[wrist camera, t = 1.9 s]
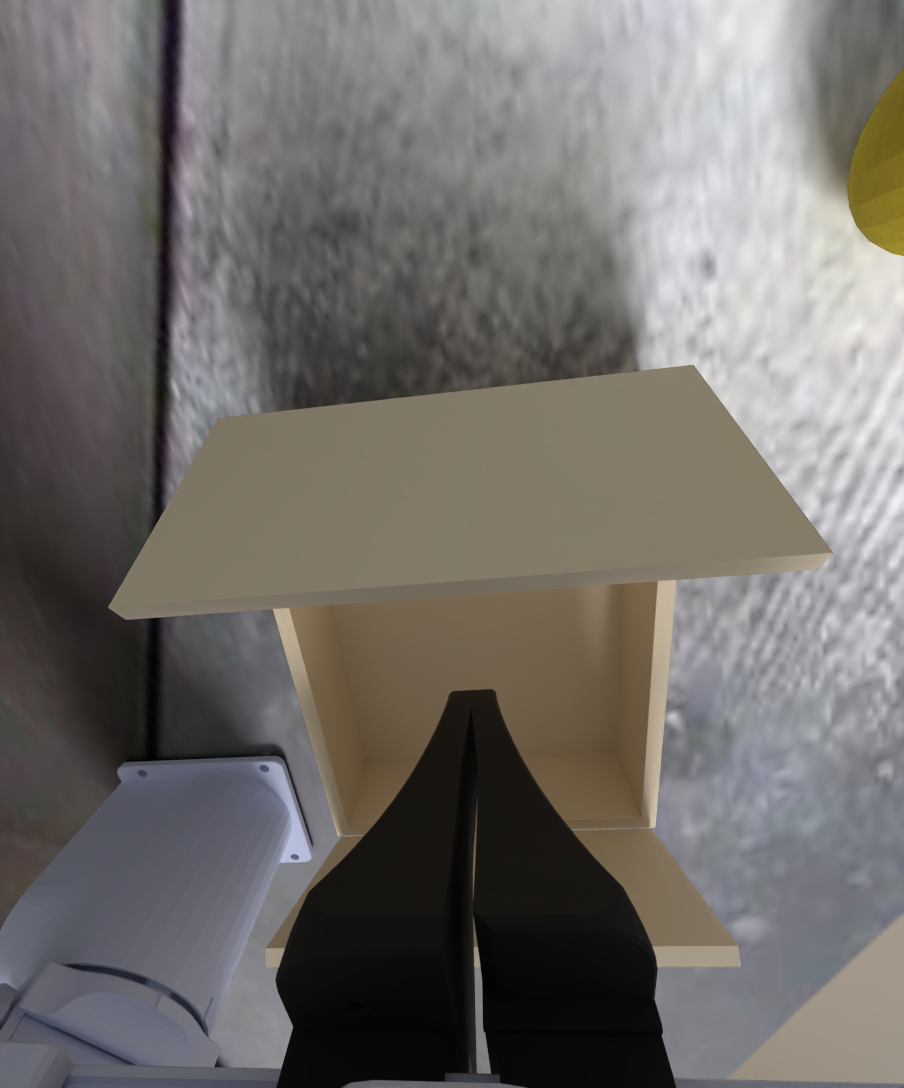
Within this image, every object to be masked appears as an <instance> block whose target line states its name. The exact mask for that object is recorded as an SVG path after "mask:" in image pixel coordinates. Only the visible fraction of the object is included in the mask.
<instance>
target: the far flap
mask: <svg viewBox="0 0 904 1088" xmlns="http://www.w3.org/2000/svg"><path fill="white" fill-rule="evenodd" d="M573 833H574V834H575V835H576V836H577V838H578V839H579V840H580V841H581V842H582V843H583V845H584V846H585V847H586V848H587V849H588V850H589V851H590V853H591V854H592V855H593V856H594V857H595V858H596V859H597V860H598V861H599V862H600V863H601V865H602V866H603V867H604V868H605V869H606V870H607V871H608V872H609V873H610V874H611V875H612V876H613V877H614V878H615V879H616V880H617V881H618V882H619V883H620V884H621V885H622V886H623V888H624V889H625V891H626V893H627V895H628V897H629V898H630V900H631V902H632V904H633V906H634V907H635V909H636V911H637V913H638V915H639V917H640V919H641V921H642V923H643V926H644V928H645V930H646V932H647V935H648V937H649V939H650V942H651V944H652V947H653V950H654V952H655V956H656V960H657V967H741V963H740V957H739V950H738V946H737V944H736V943H735V942H734V940H733V939H732V937H731V936H730V935H729V933H728V932H727V931H726V929H725V928H724V927H723V925H722V924H721V923H720V921H719V920H718V918H717V917H716V916H715V914H714V913H713V912H712V910H711V909H710V908H709V906H708V905H707V904H706V902H705V901H704V899H703V898H702V897H701V895H700V894H699V893H698V891H697V890H696V889H695V887H694V886H693V885H692V883H691V882H690V881H689V879H688V878H687V876H686V875H685V874H684V872H683V871H682V870H681V868H680V867H679V866H678V864H677V863H676V862H675V860H674V859H673V857H672V856H671V855H670V853H669V852H668V851H667V849H666V848H665V847H664V845H663V844H662V843H661V841H660V840H659V838H658V837H657V836H656V834H655V833H654V832H653V830H652V829H620V830H582V831H573ZM362 838H363V836H357V837H341V838H340V840H339V841H338V843H337V844H336V846H335V847H334V848H333V850H332V851H331V853H330V854H329V856H328V857H327V859H326V860H325V862H324V863H323V865H322V866H321V868H320V869H319V871H318V872H317V874H316V875H315V877H314V878H313V880H312V881H311V882H310V884H309V885H308V887H307V888H306V890H305V891H304V893H303V894H302V896H301V897H300V899H299V900H298V902H297V903H296V905H295V906H294V908H293V909H292V911H291V912H290V914H289V915H288V916H287V918H286V919H285V921H284V922H283V924H282V925H281V927H280V928H279V930H278V931H277V933H276V934H275V936H274V937H273V939H272V940H271V942H270V943H269V945H268V946H267V947H266V967H279V965H280V962H281V959H282V956H283V953H284V950H285V947H286V944H287V941H288V938H289V935H290V932H291V930H292V927H293V925H294V922H295V920H296V918H297V916H298V913H299V911H300V909H301V907H302V905H303V902H304V900H305V898H306V896H307V894H308V892H309V891H310V890H311V889H312V888H313V887H314V886H315V885H316V884H317V883H318V882H319V881H320V880H321V879H323V878H324V877H325V876H326V875H327V874H328V873H329V872H330V871H331V870H332V869H333V868H334V867H335V866H336V865H337V864H338V863H339V862H340V861H341V860H342V859H343V858H344V857H345V856H346V855H347V854H348V853H349V852H350V851H351V850H352V849H353V848H354V846H355V845H356V844H357V843H358V842H359V841H360V840H361V839H362ZM475 858H476V833H475V839H474V854H473V896H474V878H475ZM473 924H474V967H481V966H480V959H479V952H478V945H477V937H476V930H475V923H474V916H473Z"/></svg>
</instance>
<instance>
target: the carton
mask: <svg viewBox="0 0 904 1088" xmlns="http://www.w3.org/2000/svg"><path fill="white" fill-rule="evenodd" d="M675 592H676V580H668V581H654V582H640V583H626V584H612V585H599V586H585V587H571V588H557V589H544V590H530V591H516V592H502V593H489V594H475V595H461V596H447V597H433V598H420V599H406V600H392V601H378V602H365V603H351V604H337V605H323V606H310V607H296V608H282V609H273V611H274V615H275V618H276V622H277V625H278V629H279V632H280V636H281V639H282V643H283V646H284V650H285V653H286V657H287V660H288V664H289V667H290V671H291V674H292V678H293V681H294V685H295V688H296V692H297V695H298V698H299V702H300V705H301V709H302V712H303V716H304V719H305V723H306V726H307V730H308V733H309V737H310V740H311V744H312V747H313V751H314V754H315V758H316V761H317V765H318V768H319V772H320V775H321V779H322V782H323V786H324V789H325V793H326V796H327V800H328V803H329V807H330V810H331V814H332V817H333V821H334V824H335V828H336V831H337V835H338V836H352V835H365V834H366V833H367V832H368V831H369V830H370V829H371V828H372V826H373V825H374V824H375V823H376V821H377V820H378V819H379V818H380V817H381V815H382V814H383V813H384V811H385V810H386V809H387V807H388V806H389V805H390V803H391V802H392V801H393V800H394V798H395V797H396V795H397V794H398V793H399V791H400V790H401V788H402V787H403V785H404V784H405V782H406V781H407V779H408V778H409V776H410V775H411V773H412V771H413V770H414V768H415V766H416V765H417V763H418V761H419V759H420V758H421V756H422V754H423V752H424V751H425V749H426V747H427V745H428V743H429V741H430V739H431V737H432V735H433V733H434V731H435V729H436V727H437V725H438V723H439V720H440V718H441V716H442V714H443V711H444V709H445V706H446V703H447V700H448V697H449V694H450V693H451V692H452V691H462V690H482V689H493V690H494V691H495V692H496V696H497V701H498V705H499V708H500V711H501V714H502V716H503V719H504V722H505V724H506V726H507V729H508V731H509V733H510V735H511V737H512V739H513V741H514V744H515V746H516V748H517V749H518V751H519V753H520V755H521V757H522V759H523V760H524V762H525V764H526V766H527V768H528V769H529V771H530V773H531V774H532V776H533V778H534V779H535V781H536V782H537V784H538V785H539V787H540V788H541V790H542V791H543V793H544V794H545V796H546V797H547V799H548V800H549V801H550V803H551V804H552V806H553V807H554V809H555V810H556V811H557V812H558V814H559V815H560V816H561V818H562V819H563V820H564V821H565V823H566V824H567V825H568V826H569V828H570V829H571V830H576V829H613V828H650V827H655V824H656V812H657V801H658V789H659V778H660V766H661V754H662V743H663V731H664V720H665V708H666V696H667V685H668V673H669V661H670V650H671V638H672V627H673V615H674V603H675ZM476 831H477V811H476V825H475V832H476Z"/></svg>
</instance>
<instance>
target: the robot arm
mask: <svg viewBox="0 0 904 1088" xmlns="http://www.w3.org/2000/svg"><path fill="white" fill-rule="evenodd" d="M117 773H118V776H119V778H120V780H121V782H122V783H121V784H120V785H119V786H118V787H117V788H116V789H115V790H114V792H113V793H112V794H111V795H110V796H109V797H108V798H107V799H106V801H105V802H104V803H103V804H102V805H101V806H100V807H99V809H98V810H97V811H96V812H95V813H94V814H93V815H92V816H91V818H90V819H89V820H88V821H87V822H86V823H85V824H84V826H83V827H82V828H81V829H80V830H79V831H78V832H77V833H76V835H75V836H74V837H73V838H72V839H71V840H70V841H69V842H68V844H67V845H66V846H65V847H64V848H63V849H62V850H61V852H60V853H59V854H58V855H57V856H56V857H55V858H54V859H53V861H52V862H51V863H50V864H49V865H48V866H47V867H46V869H45V870H44V871H43V872H42V873H41V874H40V875H39V876H38V878H37V879H36V880H35V881H34V882H33V883H32V884H31V885H30V887H29V888H28V889H27V890H26V892H25V893H24V894H23V895H22V897H21V898H20V899H19V900H18V902H17V903H16V905H15V906H14V908H13V909H12V911H11V912H10V914H9V916H8V917H7V919H6V921H5V923H4V924H3V926H2V928H1V930H0V1088H904V1084H894V1083H891V1084H890V1083H851V1082H849V1083H848V1082H810V1081H769V1080H727V1079H685V1078H674V1077H673V1074H672V1070H671V1067H670V1063H669V1060H668V1056H667V1053H666V1049H665V1046H664V1042H663V1039H662V1036H661V1035H662V1033H663V1029H662V1024H661V1020H660V1017H659V1013H658V1010H657V1006H656V1003H655V1000H654V997H655V988H656V979H657V970H658V968H657V960H656V956H655V952H654V950H653V947H652V944H651V942H650V939H649V937H648V935H647V932H646V930H645V928H644V926H643V923H642V921H641V919H640V917H639V915H638V913H637V911H636V909H635V907H634V906H633V904H632V902H631V900H630V898H629V897H628V895H627V893H626V891H625V889H624V888H623V886H622V885H621V884H620V883H619V882H618V881H617V880H616V879H615V878H614V877H613V876H612V875H611V874H610V873H609V872H608V871H607V870H606V869H605V868H604V867H603V866H602V865H601V863H600V862H599V861H598V860H597V859H596V858H595V857H594V856H593V855H592V854H591V853H590V851H589V850H588V849H587V848H586V847H585V846H584V845H583V843H582V842H581V841H580V840H579V839H578V838H577V836H576V835H575V834H574V833H573V831H572V830H571V829H570V828H569V826H568V825H567V824H566V823H565V821H564V820H563V819H562V818H561V816H560V815H559V814H558V812H557V811H556V810H555V809H554V807H553V806H552V804H551V803H550V801H549V800H548V799H547V797H546V796H545V794H544V793H543V791H542V790H541V788H540V787H539V785H538V784H537V782H536V781H535V779H534V778H533V776H532V774H531V773H530V771H529V769H528V768H527V766H526V764H525V762H524V760H523V759H522V757H521V755H520V753H519V751H518V749H517V748H516V746H515V744H514V741H513V739H512V737H511V735H510V733H509V731H508V729H507V726H506V724H505V722H504V719H503V716H502V714H501V711H500V708H499V705H498V701H497V696H496V692H495V691H494V690H493V689H482V690H462V691H452V692H451V693H450V694H449V697H448V700H447V703H446V706H445V709H444V711H443V714H442V716H441V718H440V720H439V723H438V725H437V727H436V729H435V731H434V733H433V735H432V737H431V739H430V741H429V743H428V745H427V747H426V749H425V751H424V752H423V754H422V756H421V758H420V759H419V761H418V763H417V765H416V766H415V768H414V770H413V771H412V773H411V775H410V776H409V778H408V779H407V781H406V782H405V784H404V785H403V787H402V788H401V790H400V791H399V793H398V794H397V795H396V797H395V798H394V800H393V801H392V802H391V803H390V805H389V806H388V807H387V809H386V810H385V811H384V813H383V814H382V815H381V817H380V818H379V819H378V820H377V821H376V823H375V824H374V825H373V826H372V828H371V829H370V830H369V831H368V832H367V833H366V834H365V835H364V836H363V838H362V839H361V840H360V841H359V842H358V843H357V844H356V845H355V846H354V848H353V849H352V850H351V851H350V852H349V853H348V854H347V855H346V856H345V857H344V858H343V859H342V860H341V861H340V862H339V863H338V864H337V865H336V866H335V867H334V868H333V869H332V870H331V871H330V872H329V873H328V874H327V875H326V876H325V877H324V878H323V879H321V880H320V881H319V882H318V883H317V884H316V885H315V886H314V887H313V888H312V889H311V890H310V891H309V892H308V894H307V896H306V898H305V900H304V902H303V905H302V907H301V909H300V911H299V913H298V916H297V918H296V920H295V922H294V925H293V927H292V930H291V932H290V935H289V938H288V941H287V944H286V947H285V950H284V953H283V956H282V959H281V962H280V965H279V968H278V972H277V976H276V980H275V981H276V985H277V990H278V993H279V995H280V998H281V1000H282V1002H283V1004H284V1007H285V1009H286V1011H287V1013H288V1016H289V1018H290V1020H291V1022H292V1025H293V1030H292V1034H291V1037H290V1041H289V1044H288V1048H287V1051H286V1055H285V1058H284V1062H283V1065H282V1069H267V1068H225V1067H214V1066H215V1063H216V1061H217V1058H218V1055H219V1053H220V1050H221V1046H220V1045H219V1044H217V1043H215V1042H213V1041H212V1040H211V1039H209V1038H208V1037H209V1035H210V1032H211V1030H212V1028H213V1025H214V1023H215V1020H216V1018H217V1015H218V1013H219V1010H220V1008H221V1005H222V1003H223V1000H224V998H225V996H226V993H227V991H228V988H229V986H230V983H231V981H232V978H233V976H234V973H235V971H236V968H237V966H238V963H239V961H240V959H241V956H242V954H243V951H244V949H245V946H246V944H247V941H248V939H249V936H250V934H251V931H252V929H253V927H254V924H255V922H256V919H257V917H258V914H259V912H260V909H261V907H262V904H263V902H264V899H265V897H266V894H267V892H268V890H269V887H270V885H271V882H272V880H273V877H274V875H275V872H276V870H277V867H278V865H279V863H282V862H307V861H309V860H311V858H312V855H313V848H312V845H311V842H310V839H309V836H308V833H307V830H306V826H305V823H304V820H303V817H302V814H301V811H300V808H299V805H298V802H297V798H296V795H295V792H294V789H293V786H292V783H291V780H290V777H289V773H288V770H287V767H286V764H285V762H284V760H283V759H282V758H281V757H279V756H258V757H235V758H212V759H188V760H165V761H142V762H125V763H123V764H122V765H121V766H120V767H119V768H118V770H117ZM476 811H477V831H476V858H475V878H474V896H473V854H474V839H475V825H476ZM473 916H474V923H475V930H476V937H477V945H478V952H479V959H480V966H481V973H482V985H483V1029H484V1032H485V1034H486V1041H487V1047H488V1054H489V1061H490V1068H491V1074H477V1065H476V1025H475V980H474V924H473Z"/></svg>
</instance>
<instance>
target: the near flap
mask: <svg viewBox="0 0 904 1088" xmlns="http://www.w3.org/2000/svg"><path fill="white" fill-rule="evenodd" d="M832 554H833V552H832V551H831V549H830V548H829V547H828V545H827V544H826V542H825V541H824V540H823V538H822V537H821V536H820V534H819V533H818V532H817V530H816V529H815V528H814V526H813V525H812V524H811V522H810V521H809V520H808V518H807V517H806V516H805V514H804V513H803V512H802V510H801V509H800V508H799V506H798V505H797V503H796V502H795V501H794V499H793V498H792V497H791V495H790V494H789V493H788V491H787V490H786V489H785V487H784V486H783V485H782V483H781V482H780V481H779V479H778V478H777V477H776V475H775V474H774V473H773V471H772V470H771V469H770V467H769V466H768V464H767V463H766V462H765V460H764V459H763V458H762V456H761V455H760V454H759V452H758V451H757V450H756V448H755V447H754V446H753V444H752V443H751V442H750V440H749V439H748V438H747V436H746V435H745V434H744V432H743V431H742V430H741V428H740V427H739V425H738V424H737V423H736V421H735V420H734V419H733V417H732V416H731V415H730V413H729V412H728V411H727V409H726V408H725V407H724V405H723V404H722V403H721V401H720V400H719V399H718V397H717V396H716V395H715V393H714V392H713V391H712V389H711V388H710V386H709V385H708V384H707V382H706V381H705V380H704V378H703V377H702V376H701V374H700V373H699V372H698V370H697V369H696V368H695V366H694V365H688V366H679V367H670V368H661V369H652V370H644V371H635V372H626V373H617V374H608V375H599V376H590V377H581V378H572V379H563V380H554V381H545V382H536V383H528V384H519V385H510V386H501V387H492V388H483V389H474V390H465V391H456V392H447V393H438V394H429V395H421V396H412V397H403V398H394V399H385V400H376V401H367V402H358V403H349V404H340V405H331V406H322V407H314V408H305V409H296V410H287V411H278V412H269V413H260V414H251V415H242V416H233V417H224V418H218V419H217V421H216V423H215V425H214V426H213V428H212V430H211V431H210V433H209V435H208V437H207V438H206V440H205V442H204V443H203V445H202V447H201V449H200V450H199V452H198V454H197V456H196V457H195V459H194V461H193V462H192V464H191V466H190V468H189V469H188V471H187V473H186V474H185V476H184V478H183V480H182V481H181V483H180V485H179V486H178V488H177V490H176V492H175V493H174V495H173V497H172V498H171V500H170V502H169V504H168V505H167V507H166V509H165V510H164V512H163V514H162V516H161V517H160V519H159V521H158V522H157V524H156V526H155V528H154V529H153V531H152V533H151V535H150V536H149V538H148V540H147V541H146V543H145V545H144V547H143V548H142V550H141V552H140V553H139V555H138V557H137V559H136V560H135V562H134V564H133V565H132V567H131V569H130V571H129V572H128V574H127V576H126V577H125V579H124V581H123V583H122V584H121V586H120V588H119V589H118V591H117V593H116V595H115V596H114V598H113V600H112V602H111V603H110V605H109V607H108V608H109V609H111V610H112V611H114V612H115V613H117V614H118V615H119V616H121V617H122V618H124V619H125V620H131V619H144V618H158V617H172V616H186V615H199V614H213V613H227V612H241V611H254V610H268V609H282V608H296V607H310V606H323V605H337V604H351V603H365V602H378V601H392V600H406V599H420V598H433V597H447V596H461V595H475V594H489V593H502V592H516V591H530V590H544V589H557V588H571V587H585V586H599V585H612V584H626V583H640V582H654V581H668V580H681V579H695V578H709V577H723V576H736V575H750V574H764V573H778V572H791V571H805V570H818V569H819V567H820V566H821V565H822V564H823V563H824V562H825V561H826V560H827V559H828V558H829V557H830V556H831V555H832Z"/></svg>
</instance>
